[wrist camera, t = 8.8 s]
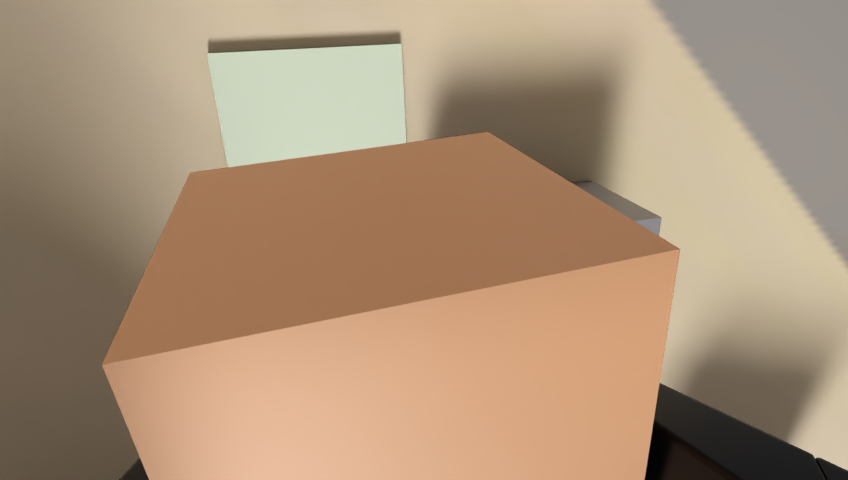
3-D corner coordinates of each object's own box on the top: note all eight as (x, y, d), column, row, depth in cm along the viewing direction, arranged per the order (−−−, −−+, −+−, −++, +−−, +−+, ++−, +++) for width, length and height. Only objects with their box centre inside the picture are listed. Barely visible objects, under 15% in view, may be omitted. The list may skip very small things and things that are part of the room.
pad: (241, 233, 19) (240, 236, 18) (208, 53, 16) (206, 53, 16) (408, 214, 20) (409, 216, 20) (399, 43, 18) (401, 44, 17)
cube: (255, 413, 11) (244, 711, 6) (190, 172, 8) (101, 365, 4) (492, 359, 12) (629, 581, 7) (487, 132, 9) (680, 248, 5)
